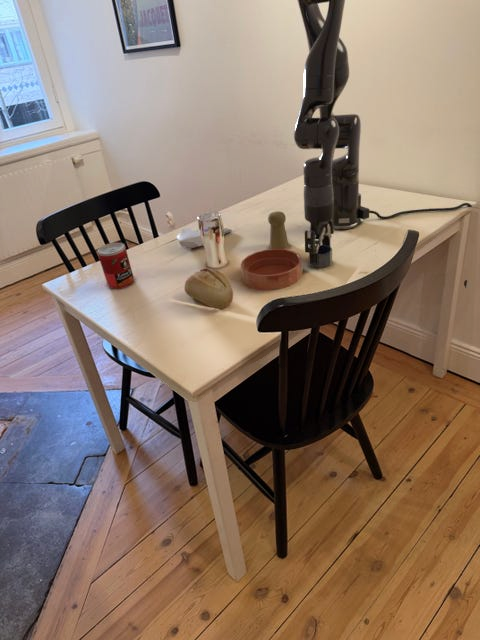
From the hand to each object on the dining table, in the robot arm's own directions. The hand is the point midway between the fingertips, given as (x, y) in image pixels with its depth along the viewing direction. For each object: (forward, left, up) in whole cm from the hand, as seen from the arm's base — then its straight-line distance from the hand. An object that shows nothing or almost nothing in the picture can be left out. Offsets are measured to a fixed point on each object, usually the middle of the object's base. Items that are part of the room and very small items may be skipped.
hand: (320, 257), depth 129 cm
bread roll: (+33, -3, -2) cm, 33 cm away
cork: (+2, -18, -2) cm, 18 cm away
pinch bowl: (0, 0, -2) cm, 2 cm away
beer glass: (+22, -21, -2) cm, 31 cm away
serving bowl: (+14, -3, -2) cm, 15 cm away
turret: (+17, -40, -2) cm, 43 cm away
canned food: (+49, -30, -2) cm, 58 cm away
